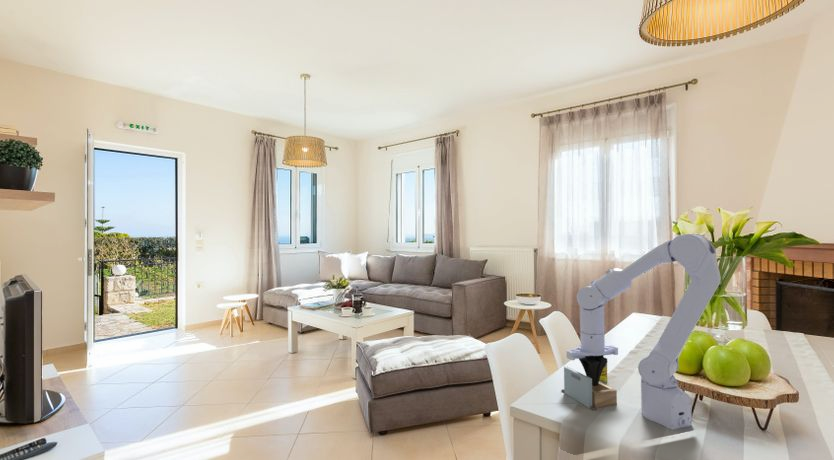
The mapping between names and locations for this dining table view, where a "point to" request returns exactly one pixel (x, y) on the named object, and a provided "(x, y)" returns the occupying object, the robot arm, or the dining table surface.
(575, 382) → the panel
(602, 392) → the crate
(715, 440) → the dining table surface
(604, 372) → the supplement bottle
